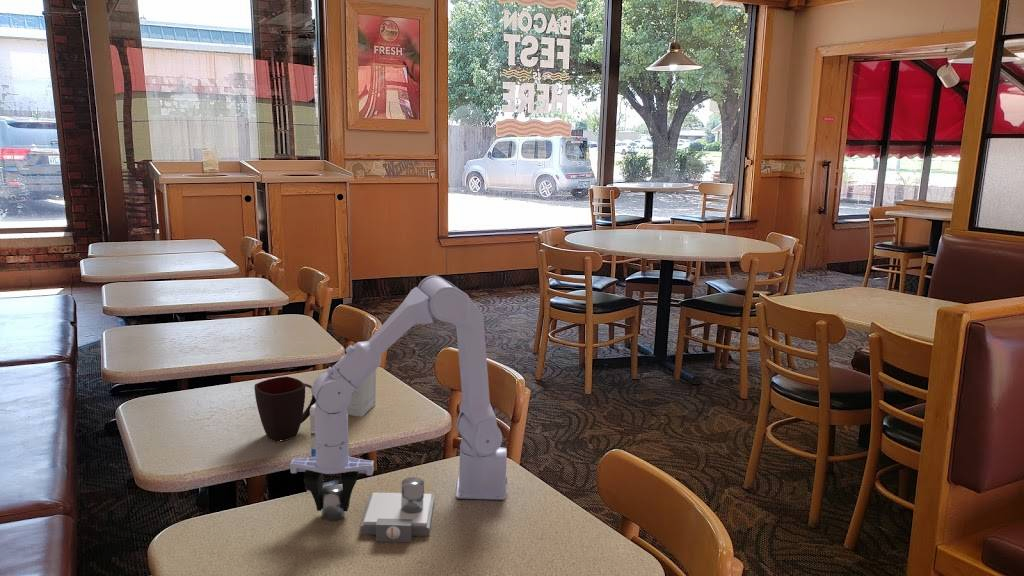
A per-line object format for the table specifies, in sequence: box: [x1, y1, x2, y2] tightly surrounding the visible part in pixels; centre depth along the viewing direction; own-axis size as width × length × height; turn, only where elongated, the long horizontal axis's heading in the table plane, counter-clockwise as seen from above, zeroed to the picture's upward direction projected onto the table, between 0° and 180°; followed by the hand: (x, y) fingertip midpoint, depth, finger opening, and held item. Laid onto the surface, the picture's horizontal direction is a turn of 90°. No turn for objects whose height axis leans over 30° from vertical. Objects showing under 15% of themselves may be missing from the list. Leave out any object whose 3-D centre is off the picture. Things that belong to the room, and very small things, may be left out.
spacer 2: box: [401, 476, 425, 513], centre depth 133 cm, size 4×4×5 cm
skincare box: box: [339, 355, 377, 418], centre depth 179 cm, size 8×6×15 cm
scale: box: [360, 491, 435, 543], centre depth 133 cm, size 12×13×3 cm
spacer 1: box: [321, 484, 346, 522], centre depth 134 cm, size 4×4×5 cm
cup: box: [253, 376, 316, 442], centre depth 165 cm, size 10×14×12 cm
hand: (333, 508), depth 134 cm, fingers open, 4 cm apart
